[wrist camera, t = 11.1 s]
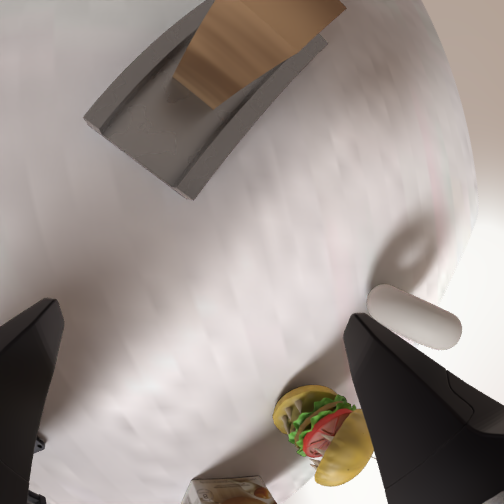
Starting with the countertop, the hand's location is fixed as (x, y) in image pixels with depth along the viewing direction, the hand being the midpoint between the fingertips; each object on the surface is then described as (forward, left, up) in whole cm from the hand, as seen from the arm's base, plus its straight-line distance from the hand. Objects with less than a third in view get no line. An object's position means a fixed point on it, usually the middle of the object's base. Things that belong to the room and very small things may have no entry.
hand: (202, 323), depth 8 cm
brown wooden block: (+8, +9, -11) cm, 16 cm away
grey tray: (+8, +8, -11) cm, 16 cm away
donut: (+15, -15, -12) cm, 24 cm away
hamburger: (+3, -20, -12) cm, 24 cm away
